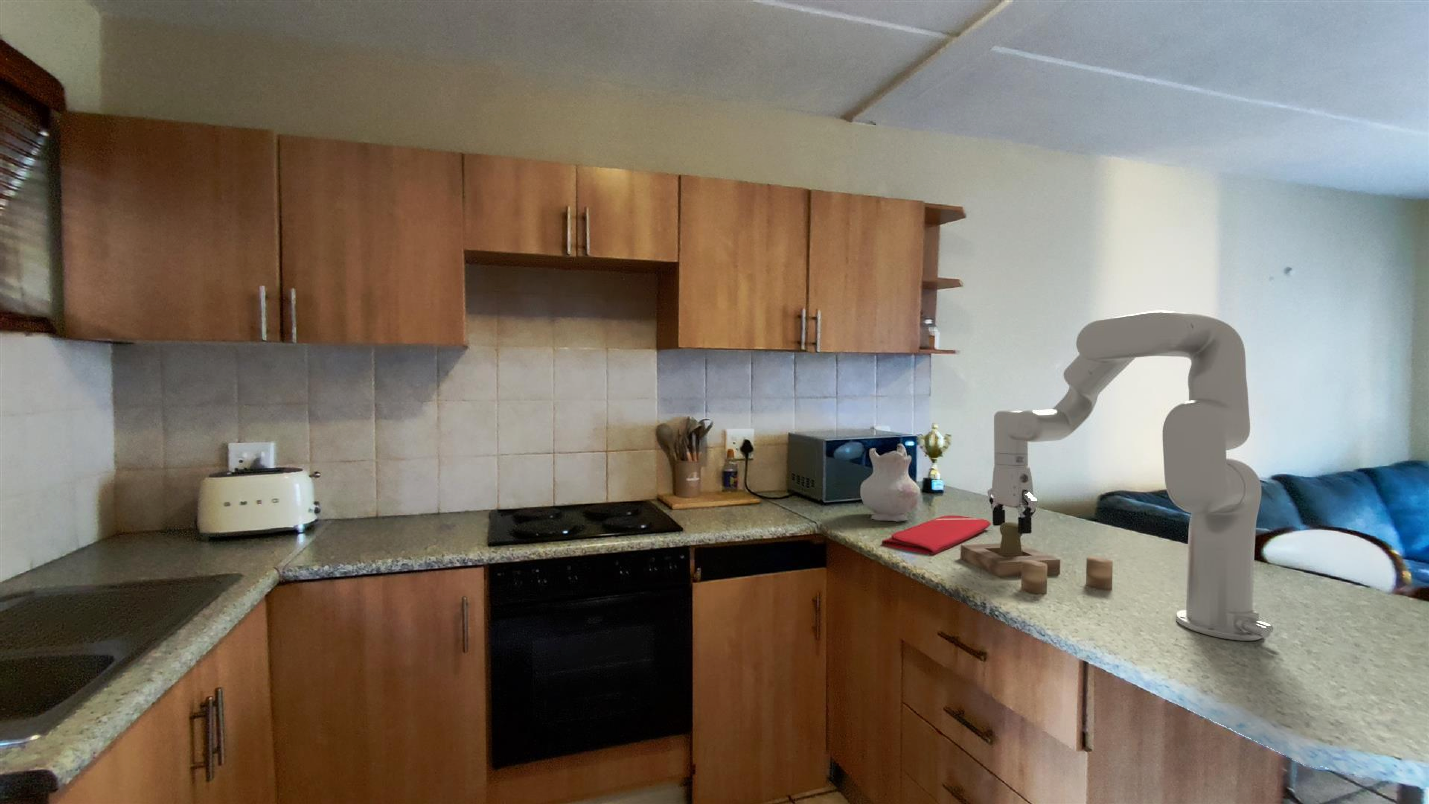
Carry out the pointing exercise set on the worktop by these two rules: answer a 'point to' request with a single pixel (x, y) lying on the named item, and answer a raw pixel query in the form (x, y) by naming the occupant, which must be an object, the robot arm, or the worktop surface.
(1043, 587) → the short dowel
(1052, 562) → the socket block
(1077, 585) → the worktop surface
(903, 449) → the ceramic pitcher
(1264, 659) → the worktop surface
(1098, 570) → the short dowel
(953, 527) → the red folded cloth
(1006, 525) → the cork
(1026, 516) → the robot arm
